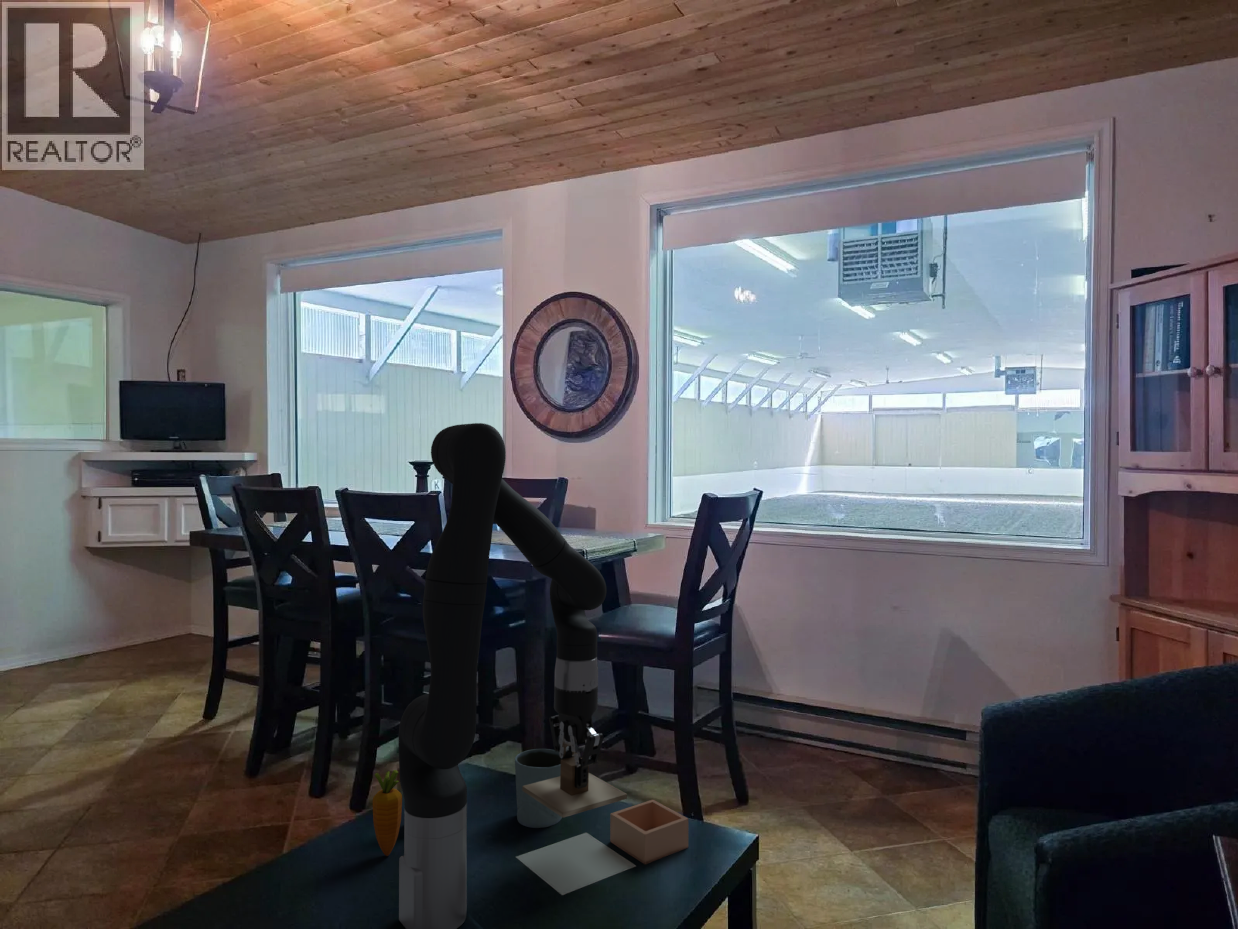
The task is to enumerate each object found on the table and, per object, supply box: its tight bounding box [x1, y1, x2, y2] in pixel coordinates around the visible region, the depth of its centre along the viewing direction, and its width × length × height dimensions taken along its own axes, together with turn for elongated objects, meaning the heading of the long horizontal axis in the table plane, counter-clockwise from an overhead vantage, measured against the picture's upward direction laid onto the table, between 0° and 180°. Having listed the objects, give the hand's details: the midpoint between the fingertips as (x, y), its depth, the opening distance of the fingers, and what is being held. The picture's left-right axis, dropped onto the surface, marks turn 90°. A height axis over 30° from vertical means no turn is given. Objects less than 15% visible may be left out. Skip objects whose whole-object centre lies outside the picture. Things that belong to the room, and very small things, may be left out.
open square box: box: [609, 799, 689, 865], centre depth 138 cm, size 10×10×6 cm
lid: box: [522, 755, 628, 819], centre depth 132 cm, size 13×13×6 cm
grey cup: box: [514, 748, 562, 829], centre depth 149 cm, size 10×10×12 cm
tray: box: [515, 832, 637, 896], centre depth 132 cm, size 15×15×1 cm
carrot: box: [372, 769, 403, 857], centre depth 135 cm, size 5×5×15 cm
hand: (574, 782), depth 132 cm, fingers closed on lid, 3 cm apart
